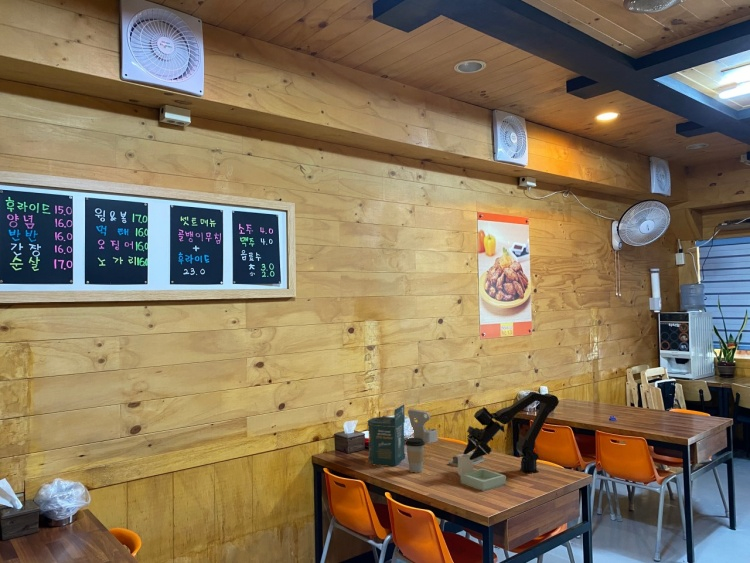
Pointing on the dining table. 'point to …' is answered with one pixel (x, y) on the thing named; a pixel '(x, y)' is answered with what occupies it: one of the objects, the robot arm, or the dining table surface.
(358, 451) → the dining table surface
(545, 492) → the dining table surface
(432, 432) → the phone holder
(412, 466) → the coffee cup
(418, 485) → the dining table surface
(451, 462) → the packaged product
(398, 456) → the donation box
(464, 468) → the beige hollow square block
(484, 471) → the green square tray
